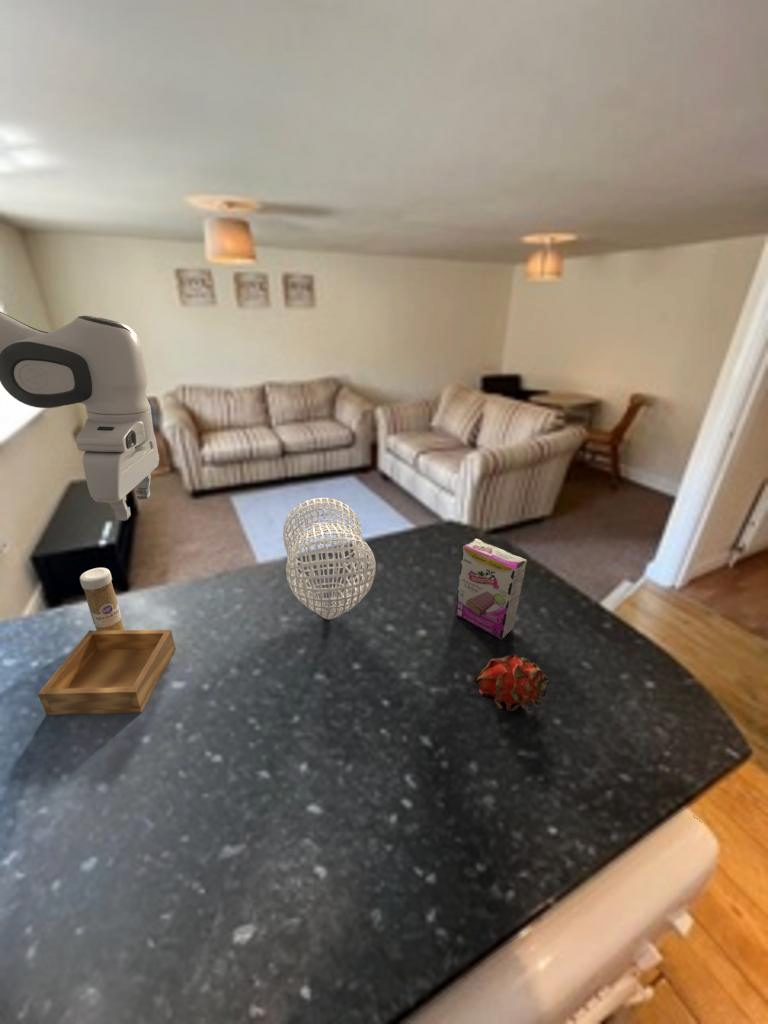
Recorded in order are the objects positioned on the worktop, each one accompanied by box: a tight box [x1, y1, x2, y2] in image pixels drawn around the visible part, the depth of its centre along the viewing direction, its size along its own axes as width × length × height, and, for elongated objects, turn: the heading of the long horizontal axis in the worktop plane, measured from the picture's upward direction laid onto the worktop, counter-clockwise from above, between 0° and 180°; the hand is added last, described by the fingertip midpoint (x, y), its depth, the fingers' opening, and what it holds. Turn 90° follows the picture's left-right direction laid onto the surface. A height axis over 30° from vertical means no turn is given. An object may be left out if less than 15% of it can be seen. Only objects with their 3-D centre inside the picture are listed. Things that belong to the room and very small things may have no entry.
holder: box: [37, 629, 176, 716], centre depth 73 cm, size 14×14×4 cm
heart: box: [282, 497, 377, 620], centre depth 86 cm, size 28×16×22 cm, turn 14°
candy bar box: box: [454, 538, 528, 638], centre depth 86 cm, size 11×5×16 cm, turn 46°
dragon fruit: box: [471, 653, 550, 712], centre depth 71 cm, size 8×8×12 cm
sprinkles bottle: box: [79, 567, 126, 631], centre depth 81 cm, size 5×5×14 cm
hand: (134, 507), depth 77 cm, fingers open, 8 cm apart
